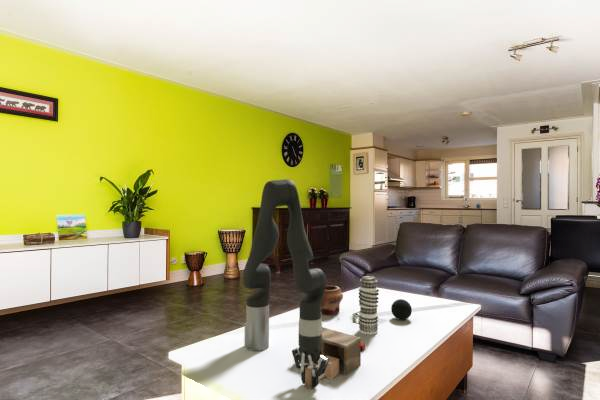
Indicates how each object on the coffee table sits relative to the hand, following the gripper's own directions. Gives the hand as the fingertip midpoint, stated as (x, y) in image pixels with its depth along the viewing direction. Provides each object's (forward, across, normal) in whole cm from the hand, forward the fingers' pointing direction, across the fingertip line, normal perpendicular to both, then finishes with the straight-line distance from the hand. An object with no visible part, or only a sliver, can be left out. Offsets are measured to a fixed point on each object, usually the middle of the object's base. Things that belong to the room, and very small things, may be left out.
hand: (309, 384), depth 116 cm
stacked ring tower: (+1, -8, +57) cm, 58 cm away
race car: (+1, -6, +34) cm, 35 cm away
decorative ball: (+1, -3, +83) cm, 83 cm away
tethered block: (+1, 0, +6) cm, 6 cm away
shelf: (+1, -5, +19) cm, 20 cm away
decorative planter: (+1, -37, +67) cm, 77 cm away
